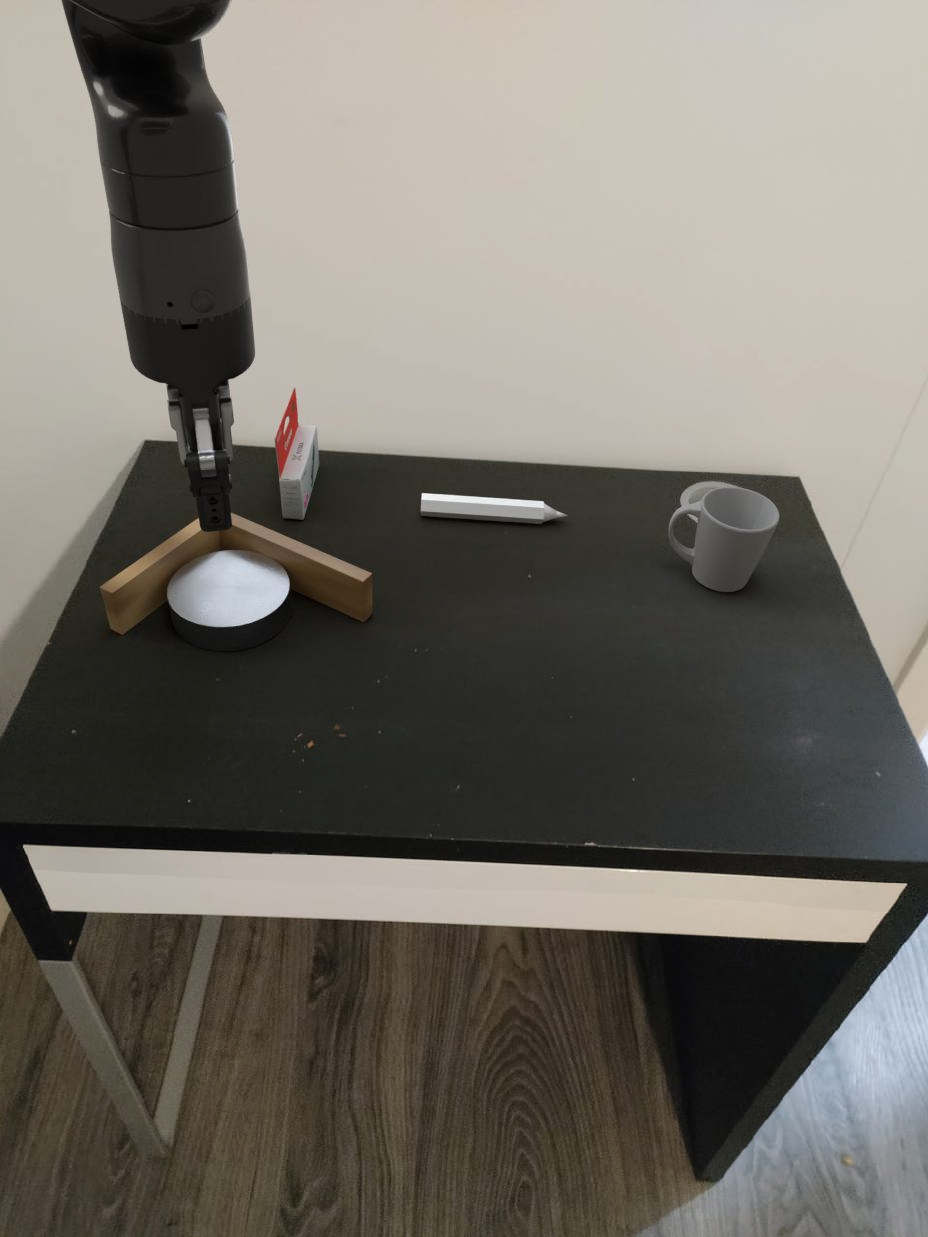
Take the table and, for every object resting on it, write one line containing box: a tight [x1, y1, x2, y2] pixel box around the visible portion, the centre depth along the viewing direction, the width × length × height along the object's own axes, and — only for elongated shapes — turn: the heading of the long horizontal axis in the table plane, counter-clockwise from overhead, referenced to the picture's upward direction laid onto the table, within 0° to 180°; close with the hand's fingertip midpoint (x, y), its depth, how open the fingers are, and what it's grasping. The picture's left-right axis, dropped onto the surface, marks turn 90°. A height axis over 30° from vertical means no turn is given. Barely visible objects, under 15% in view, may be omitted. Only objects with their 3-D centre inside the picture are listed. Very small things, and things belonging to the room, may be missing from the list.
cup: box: [668, 486, 780, 593], centre depth 93 cm, size 8×10×8 cm
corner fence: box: [99, 512, 373, 636], centre depth 85 cm, size 15×18×5 cm
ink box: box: [274, 387, 320, 521], centre depth 99 cm, size 2×11×10 cm, turn 178°
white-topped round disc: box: [167, 550, 293, 652], centre depth 86 cm, size 11×11×3 cm
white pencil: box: [420, 492, 569, 525], centre depth 100 cm, size 3×2×16 cm
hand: (216, 525), depth 66 cm, fingers closed
